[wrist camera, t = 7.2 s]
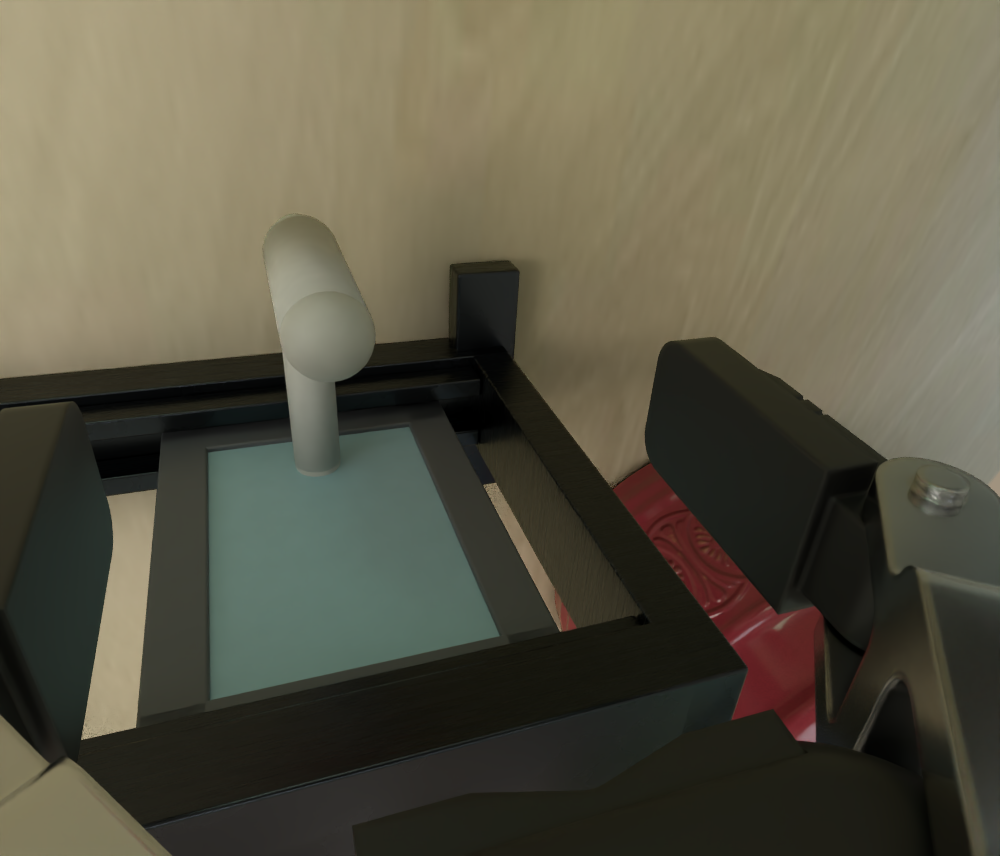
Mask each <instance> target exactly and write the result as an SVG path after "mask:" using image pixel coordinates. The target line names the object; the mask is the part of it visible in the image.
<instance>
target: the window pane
mask: <svg viewBox="0 0 1000 856" xmlns="http://www.w3.org/2000/svg"><path fill="white" fill-rule="evenodd" d="M263 257H264V262H265V267H266V272H267V277H268V283H269V288H270V293H271V298H272V303H273V308H274V313H275V318H276V323H277V328H278V333H279V338H280V343H281V347H282V353H283V362H284V371H285V380H286V389H287V397H288V406H289V415H290V418H286V419H277V420H269V421H261V422H252V423H244V424H235V425H227V426H218V427H210V428H201V429H193V430H184V431H176V432H167V433H162V437H161V448H160V460H159V471H158V483H157V494H156V506H155V517H154V529H153V540H152V552H151V563H150V574H149V586H148V597H147V609H146V620H145V632H144V643H143V655H142V666H141V678H140V689H139V700H138V712H137V723H136V728H138V727H142V726H147V725H151V724H155V723H160V722H164V721H169V720H173V719H178V718H182V717H186V716H191V715H195V714H200V713H204V712H209V711H213V710H217V709H222V708H226V707H231V706H235V705H240V704H244V703H248V702H253V701H257V700H262V699H266V698H271V697H275V696H279V695H284V694H288V693H293V692H297V691H302V690H306V689H310V688H315V687H319V686H324V685H328V684H333V683H337V682H341V681H346V680H350V679H355V678H359V677H364V676H368V675H372V674H377V673H381V672H386V671H390V670H395V669H399V668H403V667H408V666H412V665H417V664H421V663H426V662H430V661H434V660H439V659H443V658H448V657H452V656H457V655H461V654H465V653H470V652H474V651H479V650H483V649H488V648H492V647H496V646H501V645H505V644H510V643H514V642H519V641H523V640H527V639H532V638H536V637H541V636H545V635H550V634H554V633H558V632H560V631H559V629H558V627H557V626H556V624H555V622H554V620H553V618H552V616H551V614H550V612H549V610H548V608H547V606H546V605H545V603H544V601H543V599H542V597H541V595H540V593H539V591H538V589H537V587H536V586H535V584H534V582H533V580H532V578H531V576H530V574H529V572H528V570H527V568H526V566H525V565H524V563H523V561H522V559H521V557H520V555H519V553H518V551H517V549H516V547H515V546H514V544H513V542H512V540H511V538H510V536H509V534H508V532H507V530H506V528H505V526H504V525H503V523H502V521H501V519H500V517H499V515H498V513H497V511H496V509H495V507H494V505H493V504H492V502H491V500H490V498H489V496H488V494H487V492H486V490H485V488H484V486H483V485H482V483H481V481H480V479H479V477H478V475H477V473H476V471H475V469H474V467H473V465H472V464H471V462H470V460H469V458H468V456H467V454H466V452H465V450H464V448H463V446H462V445H461V443H460V441H459V439H458V437H457V435H456V433H455V431H454V429H453V427H452V425H451V424H450V422H449V420H448V418H447V416H446V414H445V412H444V410H443V408H442V406H441V405H440V403H439V401H430V402H421V403H413V404H405V405H396V406H388V407H379V408H371V409H362V410H354V411H345V412H337V404H336V390H335V382H336V381H342V380H344V379H347V378H350V377H351V376H353V375H355V374H356V373H358V372H359V371H360V370H361V369H362V368H363V367H364V366H365V365H366V364H367V362H368V361H369V359H370V357H371V355H372V352H373V349H374V345H375V337H376V335H375V328H374V323H373V320H372V318H371V315H370V313H369V311H368V309H367V307H366V304H365V302H364V300H363V298H362V296H361V293H360V291H359V289H358V287H357V285H356V283H355V280H354V278H353V276H352V274H351V272H350V270H349V267H348V265H347V263H346V261H345V259H344V257H343V254H342V252H341V250H340V248H339V246H338V244H337V241H336V239H335V237H334V235H333V234H332V232H331V231H330V230H329V229H328V228H327V227H326V225H325V224H323V223H322V222H321V221H319V220H317V219H315V218H313V217H310V216H306V215H302V214H289V215H286V216H284V217H282V218H280V219H279V220H278V221H277V222H276V223H275V224H274V225H272V226H271V228H270V229H269V231H268V232H267V234H266V236H265V239H264V244H263Z"/></svg>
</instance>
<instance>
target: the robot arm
mask: <svg viewBox="0 0 1000 856" xmlns="http://www.w3.org/2000/svg"><path fill="white" fill-rule="evenodd" d="M645 445H646V450H647V454H648V457H649V460H650V462H651V464H652V466H653V467H654V469H655V470H656V471H657V472H658V474H659V475H660V476H661V477H662V478H663V480H664V481H665V482H666V483H667V484H668V485H669V487H670V488H671V489H672V490H673V491H674V492H675V494H676V495H677V496H678V497H679V498H680V500H681V501H682V502H683V503H684V504H685V505H686V507H687V508H688V509H689V510H690V511H691V513H692V514H693V515H694V516H695V517H696V518H697V520H698V521H699V522H700V523H701V524H702V526H703V527H704V528H705V529H706V530H707V531H708V533H709V534H710V535H711V536H712V537H713V538H714V540H715V541H716V542H717V543H718V544H719V546H720V547H721V548H722V549H723V550H724V551H725V553H726V554H727V555H728V556H729V557H730V559H731V560H732V561H733V562H734V563H735V564H736V566H737V567H738V568H739V569H740V570H741V572H742V573H743V574H744V575H745V576H746V577H747V579H748V580H749V581H750V582H751V583H752V585H753V586H754V587H755V588H756V589H757V590H758V592H759V593H760V594H761V595H762V596H763V597H764V599H765V600H766V601H767V602H768V603H769V605H770V606H771V607H772V608H773V609H774V610H775V612H776V613H777V614H778V615H780V614H784V613H788V612H792V611H797V610H801V609H805V608H809V607H814V606H815V607H816V608H817V609H818V610H819V611H820V612H821V614H820V616H819V619H818V622H817V624H816V627H815V629H814V676H815V724H816V742H808V741H796V739H795V738H794V737H793V735H792V734H791V732H790V731H789V730H788V728H787V727H786V726H785V724H784V723H783V722H782V720H781V719H780V718H779V716H778V715H777V713H776V712H775V711H774V709H771V710H767V711H764V712H760V713H756V714H753V715H749V716H745V717H742V718H738V719H735V720H731V721H727V722H724V723H720V724H717V725H713V726H709V727H706V728H702V729H699V730H695V731H691V732H688V733H684V734H682V735H680V736H679V737H677V738H676V739H674V740H672V741H671V742H669V743H668V744H666V745H665V746H663V747H661V748H660V749H658V750H657V751H655V752H653V753H652V754H650V755H649V756H647V757H646V758H644V759H642V760H641V761H639V762H638V763H636V764H635V765H633V766H631V767H630V768H628V769H627V770H625V771H623V772H622V773H620V774H619V775H617V776H616V777H614V778H612V779H611V780H609V781H608V782H606V783H605V784H603V785H601V786H599V787H597V788H593V789H590V790H580V791H534V792H488V793H468V794H464V795H461V796H457V797H453V798H450V799H446V800H442V801H439V802H435V803H432V804H428V805H424V806H421V807H417V808H414V809H410V810H406V811H403V812H399V813H396V814H392V815H388V816H385V817H381V818H378V819H374V820H370V821H367V822H363V823H360V824H356V825H352V829H353V839H354V849H355V856H1000V497H999V496H998V495H997V494H996V493H995V492H994V491H993V490H992V489H991V488H990V487H989V486H988V485H986V484H985V483H984V482H982V481H981V480H979V479H978V478H976V477H974V476H973V475H971V474H969V473H967V472H965V471H963V470H961V469H958V468H956V467H953V466H950V465H947V464H944V463H941V462H937V461H933V460H929V459H923V458H913V457H901V458H894V459H890V460H887V459H885V458H884V457H883V456H881V455H880V454H879V453H877V452H876V451H875V450H874V449H872V448H871V447H870V446H868V445H867V444H866V443H864V442H863V441H862V440H860V439H859V438H858V437H856V436H855V435H854V434H852V433H851V432H850V431H848V430H847V429H846V428H845V427H843V426H842V425H841V424H839V423H838V422H837V421H835V420H834V419H833V418H831V417H830V416H829V415H823V414H822V410H821V409H820V408H818V407H817V406H816V405H814V404H813V403H812V402H810V401H809V400H803V396H802V395H801V394H800V393H798V392H797V391H796V390H794V389H793V388H792V387H791V386H789V385H788V384H787V383H785V382H784V381H783V380H781V379H780V378H778V377H776V376H773V375H771V374H769V373H767V372H764V371H762V370H760V369H758V368H757V367H755V366H754V365H753V364H751V363H750V362H749V361H748V360H746V359H745V358H744V357H742V356H741V355H740V354H738V353H737V352H736V351H735V350H733V349H732V348H731V347H729V346H728V345H727V344H726V343H724V342H723V341H722V340H720V339H718V338H716V337H708V338H698V339H688V340H678V341H670V342H668V343H666V344H665V345H664V346H663V347H662V349H661V351H660V354H659V357H658V361H657V367H656V372H655V378H654V383H653V389H652V394H651V400H650V405H649V411H648V416H647V422H646V428H645ZM112 550H113V530H112V521H111V514H110V509H109V504H108V501H107V497H106V494H105V490H104V487H103V484H102V480H101V477H100V473H99V470H98V466H97V463H96V460H95V456H94V453H93V449H92V446H91V442H90V439H89V436H88V432H87V429H86V425H85V422H84V419H83V416H82V413H81V411H80V409H79V407H78V406H77V404H76V403H75V402H73V401H72V402H62V403H52V404H42V405H33V406H23V407H13V408H5V409H2V410H1V411H0V856H172V855H171V854H170V853H169V852H168V851H167V850H166V849H165V848H164V847H163V846H162V845H161V844H160V843H159V842H158V841H157V840H156V839H155V838H154V837H153V836H151V835H150V834H149V833H148V832H147V831H146V830H145V829H144V828H143V827H142V826H141V825H140V824H139V823H138V822H137V821H136V820H135V819H134V818H133V817H132V816H131V815H130V814H129V813H128V812H127V811H126V810H125V809H124V808H123V807H122V806H121V805H120V804H119V803H118V802H117V801H116V800H115V799H114V798H113V797H112V796H111V795H110V794H109V793H108V792H107V791H106V790H104V789H103V788H102V787H101V786H100V785H99V784H98V783H97V782H96V781H95V780H94V779H93V778H92V777H91V776H90V775H89V774H88V773H87V772H86V771H85V770H84V769H83V768H82V767H80V766H79V765H78V764H77V761H78V755H79V749H80V743H81V737H82V731H83V725H84V719H85V713H86V707H87V701H88V695H89V689H90V683H91V677H92V671H93V665H94V659H95V653H96V647H97V641H98V635H99V629H100V623H101V617H102V611H103V605H104V599H105V593H106V587H107V581H108V575H109V569H110V563H111V557H112Z"/></svg>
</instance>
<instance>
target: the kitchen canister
mask: <svg viewBox="0 0 1000 856" xmlns="http://www.w3.org/2000/svg"><path fill="white" fill-rule="evenodd" d="M613 491H614V492H615V494H616V495H617V496H618V498H619V499H620V500H621V501H622V503H623V504H624V505H625V507H626V508H627V509H628V511H629V512H630V513H631V515H632V516H633V517H634V519H635V520H636V521H637V522H638V524H639V525H640V526H641V528H642V529H643V530H644V532H645V533H646V534H647V536H648V537H649V538H650V540H651V541H652V542H653V543H654V545H655V546H656V547H657V549H658V550H659V551H660V553H661V554H662V555H663V557H664V558H665V559H666V561H667V562H668V563H669V564H670V566H671V567H672V568H673V570H674V571H675V572H676V574H677V575H678V576H679V578H680V579H681V580H682V581H683V583H684V584H685V585H686V587H687V588H688V589H689V591H690V592H691V593H692V595H693V596H694V597H695V599H696V600H697V601H698V602H699V604H700V605H701V606H702V608H703V609H704V610H705V612H706V613H707V614H708V615H709V617H710V618H711V619H712V621H713V622H714V623H715V625H716V626H717V627H718V629H719V630H720V631H721V632H722V634H723V635H724V636H725V638H726V639H727V640H728V642H729V643H730V644H731V646H732V647H733V648H734V650H735V651H736V652H737V653H738V655H739V656H740V657H741V659H742V660H743V661H744V663H745V664H746V665H747V667H748V673H747V676H746V679H745V682H744V685H743V688H742V691H741V694H740V697H739V700H738V703H737V706H736V709H735V712H734V715H733V718H732V720H735V719H738V718H742V717H745V716H749V715H753V714H756V713H760V712H764V711H767V710H771V709H774V711H775V712H776V713H777V715H778V716H779V718H780V719H781V720H782V722H783V723H784V724H785V726H786V727H787V728H788V730H789V731H790V732H791V734H792V735H793V737H794V738H795V739H796V741H808V742H816V724H815V676H814V629H815V627H816V624H817V622H818V619H819V616H820V614H821V612H820V611H819V610H818V609H817V608H816V607H815V606H814V607H809V608H805V609H801V610H797V611H792V612H788V613H784V614H780V615H778V614H777V613H776V612H775V610H774V609H773V608H772V607H771V606H770V605H769V603H768V602H767V601H766V600H765V599H764V597H763V596H762V595H761V594H760V593H759V592H758V590H757V589H756V588H755V587H754V586H753V585H752V583H751V582H750V581H749V580H748V579H747V577H746V576H745V575H744V574H743V573H742V572H741V570H740V569H739V568H738V567H737V566H736V564H735V563H734V562H733V561H732V560H731V559H730V557H729V556H728V555H727V554H726V553H725V551H724V550H723V549H722V548H721V547H720V546H719V544H718V543H717V542H716V541H715V540H714V538H713V537H712V536H711V535H710V534H709V533H708V531H707V530H706V529H705V528H704V527H703V526H702V524H701V523H700V522H699V521H698V520H697V518H696V517H695V516H694V515H693V514H692V513H691V511H690V510H689V509H688V508H687V507H686V505H685V504H684V503H683V502H682V501H681V500H680V498H679V497H678V496H677V495H676V494H675V492H674V491H673V490H672V489H671V488H670V487H669V485H668V484H667V483H666V482H665V481H664V480H663V478H662V477H661V476H660V475H659V474H658V472H657V471H656V470H655V469H654V467H653V466H652V464H651V463H650V464H648V465H647V466H645V467H643V468H641V469H640V470H638V471H637V472H635V473H634V474H632V475H631V476H629V477H628V478H627V479H625V480H624V481H623V482H621V483H620V484H619V485H617V486H616V487H615V488H614V489H613ZM555 604H556V609H557V613H558V616H559V619H560V623H561V630H562V632H563V631H567V630H572V629H576V626H575V624H574V622H573V621H572V619H571V617H570V615H569V613H568V612H567V610H566V608H565V606H564V604H563V603H562V601H561V599H560V597H559V595H558V593H557V592H556V590H555Z"/></svg>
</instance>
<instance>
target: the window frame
mask: <svg viewBox="0 0 1000 856" xmlns="http://www.w3.org/2000/svg"><path fill="white" fill-rule="evenodd" d="M519 274H520V272H519V270H518V269H517V268H516V267H515V266H514V265H513V264H512V263H511V262H510V261H496V262H480V263H464V264H452V265H451V266H450V292H449V338H442V339H431V340H420V341H409V342H398V343H387V344H377V345H374V349H373V352H372V355H371V357H370V359H369V361H368V362H367V364H366V365H365V366H364V367H363V368H362V369H361V370H360V371H359V372H358V373H356V374H355V375H353V376H351V377H350V378H347V379H344V380H342V381H336V382H335V390H336V404H337V412H345V411H354V410H362V409H371V408H379V407H388V406H396V405H405V404H413V403H421V402H430V401H439V403H440V405H441V406H442V408H443V410H444V412H445V414H446V416H447V418H448V420H449V422H450V424H451V425H452V427H453V429H454V431H455V433H456V435H457V437H458V439H459V441H460V443H461V445H462V446H463V448H464V450H465V452H466V454H467V456H468V458H469V460H470V462H471V464H472V465H473V467H474V469H475V471H476V473H477V475H478V477H479V479H480V481H481V483H482V485H484V484H490V483H497V485H498V487H499V489H500V490H501V492H502V494H503V496H504V498H505V499H506V501H507V503H508V505H509V507H510V508H511V510H512V512H513V514H514V516H515V517H516V519H517V521H518V523H519V525H520V527H521V528H522V530H523V532H524V534H525V536H526V537H527V539H528V541H529V543H530V545H531V546H532V548H533V550H534V552H535V554H536V555H537V557H538V559H539V561H540V563H541V565H542V566H543V568H544V570H545V572H546V574H547V575H548V577H549V579H550V581H551V583H552V584H553V586H554V588H555V590H556V592H557V593H558V595H559V597H560V599H561V601H562V603H563V604H564V606H565V608H566V610H567V612H568V613H569V615H570V617H571V619H572V621H573V622H574V624H575V626H576V629H572V630H567V631H563V632H558V633H554V634H550V635H545V636H541V637H536V638H532V639H527V640H523V641H519V642H514V643H510V644H505V645H501V646H496V647H492V648H488V649H483V650H479V651H474V652H470V653H465V654H461V655H457V656H452V657H448V658H443V659H439V660H434V661H430V662H426V663H421V664H417V665H412V666H408V667H403V668H399V669H395V670H390V671H386V672H381V673H377V674H372V675H368V676H364V677H359V678H355V679H350V680H346V681H341V682H337V683H333V684H328V685H324V686H319V687H315V688H310V689H306V690H302V691H297V692H293V693H288V694H284V695H279V696H275V697H271V698H266V699H262V700H257V701H253V702H248V703H244V704H240V705H235V706H231V707H226V708H222V709H217V710H213V711H209V712H204V713H200V714H195V715H191V716H186V717H182V718H178V719H173V720H169V721H164V722H160V723H155V724H151V725H147V726H142V727H138V728H133V729H129V730H124V731H120V732H116V733H111V734H107V735H102V736H98V737H93V738H89V739H85V740H81V743H80V749H79V755H78V761H77V764H78V765H79V766H80V767H82V768H83V769H84V770H85V771H86V772H87V773H88V774H89V775H90V776H91V777H92V778H93V779H94V780H95V781H96V782H97V783H98V784H99V785H100V786H101V787H102V788H103V789H104V790H106V791H107V792H108V793H109V794H110V795H111V796H112V797H113V798H114V799H115V800H116V801H117V802H118V803H119V804H120V805H121V806H122V807H123V808H124V809H125V810H126V811H127V812H128V813H129V814H130V815H131V816H132V817H133V818H134V819H135V820H136V821H137V822H138V823H139V824H140V825H141V826H142V827H143V828H144V829H145V830H146V831H147V832H148V833H149V834H150V835H151V836H153V837H154V838H155V839H156V840H157V841H158V842H159V843H160V844H161V845H162V846H163V847H164V848H165V849H166V850H167V851H168V852H169V853H170V854H171V855H172V856H355V849H354V839H353V829H352V825H356V824H360V823H363V822H367V821H370V820H374V819H378V818H381V817H385V816H388V815H392V814H396V813H399V812H403V811H406V810H410V809H414V808H417V807H421V806H424V805H428V804H432V803H435V802H439V801H442V800H446V799H450V798H453V797H457V796H461V795H464V794H468V793H488V792H534V791H580V790H590V789H593V788H597V787H599V786H601V785H603V784H605V783H606V782H608V781H609V780H611V779H612V778H614V777H616V776H617V775H619V774H620V773H622V772H623V771H625V770H627V769H628V768H630V767H631V766H633V765H635V764H636V763H638V762H639V761H641V760H642V759H644V758H646V757H647V756H649V755H650V754H652V753H653V752H655V751H657V750H658V749H660V748H661V747H663V746H665V745H666V744H668V743H669V742H671V741H672V740H674V739H676V738H677V737H679V736H680V735H682V734H684V733H688V732H691V731H695V730H699V729H702V728H706V727H709V726H713V725H717V724H720V723H724V722H727V721H731V720H732V718H733V715H734V712H735V709H736V706H737V703H738V700H739V697H740V694H741V691H742V688H743V685H744V682H745V679H746V676H747V673H748V667H747V665H746V664H745V663H744V661H743V660H742V659H741V657H740V656H739V655H738V653H737V652H736V651H735V650H734V648H733V647H732V646H731V644H730V643H729V642H728V640H727V639H726V638H725V636H724V635H723V634H722V632H721V631H720V630H719V629H718V627H717V626H716V625H715V623H714V622H713V621H712V619H711V618H710V617H709V615H708V614H707V613H706V612H705V610H704V609H703V608H702V606H701V605H700V604H699V602H698V601H697V600H696V599H695V597H694V596H693V595H692V593H691V592H690V591H689V589H688V588H687V587H686V585H685V584H684V583H683V581H682V580H681V579H680V578H679V576H678V575H677V574H676V572H675V571H674V570H673V568H672V567H671V566H670V564H669V563H668V562H667V561H666V559H665V558H664V557H663V555H662V554H661V553H660V551H659V550H658V549H657V547H656V546H655V545H654V543H653V542H652V541H651V540H650V538H649V537H648V536H647V534H646V533H645V532H644V530H643V529H642V528H641V526H640V525H639V524H638V522H637V521H636V520H635V519H634V517H633V516H632V515H631V513H630V512H629V511H628V509H627V508H626V507H625V505H624V504H623V503H622V501H621V500H620V499H619V498H618V496H617V495H616V494H615V492H614V491H613V490H612V488H611V487H610V486H609V484H608V483H607V482H606V480H605V479H604V478H603V477H602V475H601V474H600V473H599V471H598V470H597V469H596V467H595V466H594V465H593V463H592V462H591V461H590V459H589V458H588V457H587V456H586V454H585V453H584V452H583V450H582V449H581V448H580V446H579V445H578V444H577V442H576V441H575V440H574V438H573V437H572V436H571V435H570V433H569V432H568V431H567V429H566V428H565V427H564V425H563V424H562V423H561V421H560V420H559V419H558V417H557V416H556V415H555V414H554V412H553V411H552V410H551V408H550V407H549V406H548V404H547V403H546V402H545V400H544V399H543V398H542V397H541V395H540V394H539V393H538V391H537V390H536V389H535V387H534V386H533V385H532V383H531V382H530V381H529V379H528V378H527V377H526V376H525V374H524V373H523V372H522V370H521V369H520V368H519V366H518V365H517V364H516V362H515V361H514V346H515V332H516V317H517V303H518V288H519ZM72 401H73V402H75V403H76V404H77V406H78V407H79V409H80V411H81V413H82V416H83V419H84V422H85V425H86V429H87V432H88V436H89V439H90V442H91V446H92V449H93V453H94V456H95V460H96V463H97V466H98V470H99V473H100V477H101V480H102V484H103V487H104V490H105V494H106V496H111V495H118V494H125V493H132V492H139V491H147V490H154V489H157V483H158V471H159V460H160V448H161V437H162V433H167V432H176V431H184V430H193V429H201V428H210V427H218V426H227V425H235V424H244V423H252V422H261V421H269V420H277V419H286V418H290V415H289V406H288V397H287V389H286V380H285V371H284V362H283V353H279V354H268V355H258V356H247V357H236V358H225V359H214V360H203V361H193V362H182V363H171V364H160V365H149V366H139V367H128V368H117V369H106V370H95V371H84V372H74V373H63V374H52V375H41V376H30V377H19V378H9V379H0V411H1V410H2V409H5V408H13V407H23V406H33V405H42V404H52V403H62V402H72Z"/></svg>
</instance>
